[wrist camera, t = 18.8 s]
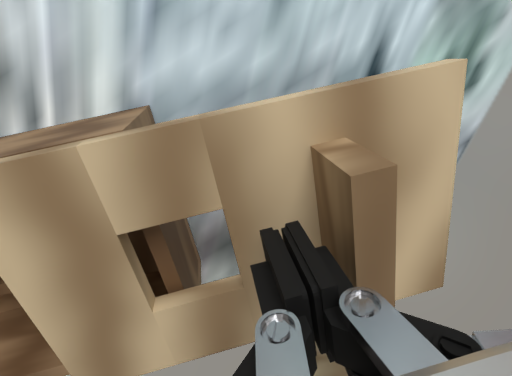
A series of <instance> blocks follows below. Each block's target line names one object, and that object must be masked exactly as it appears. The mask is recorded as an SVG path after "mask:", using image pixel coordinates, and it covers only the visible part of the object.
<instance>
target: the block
mask: <svg viewBox="0 0 512 376" xmlns="http://www.w3.org/2000/svg"><path fill="white" fill-rule="evenodd" d="M315 345H316V352H317V356H316V362H317V370H316V372H315V374H314V376H348V374H347V372H346V370H345V367H344V366H342V365H340V364H337V363H335V361H334V362H331V363H330V362H329V359H328V357H327V355H326V353H325V354H321V353H320V351H319V349H318V347H317V344H316V342H315Z"/></svg>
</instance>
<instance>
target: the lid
mask: <svg viewBox="0 0 512 376" xmlns="http://www.w3.org/2000/svg"><path fill="white" fill-rule="evenodd" d="M466 69H467V59H446V60H441V61H437V62H432V63H428V64H423V65H419V66H414V67H410V68H405V69H401V70H396V71H392V72H387V73H383V74H378V75H374V76H369V77H365V78H360V79H356V80H351V81H347V82H342V83H338V84H333V85H329V86H324V87H320V88H315V89H311V90H306V91H302V92H297V93H293V94H288V95H284V96H279V97H275V98H270V99H266V100H261V101H257V102H252V103H248V104H243V105H239V106H234V107H230V108H225V109H221V110H216V111H212V112H207V113H203V114H198V115H194V116H189V117H185V118H180V119H176V120H171V121H167V122H162V123H158V124H153V125H149V126H144V127H140V128H135V129H131V130H126V131H122V132H117V133H113V134H108V135H104V136H99V137H95V138H90V139H86V140H81V141H77V142H72V143H68V144H63V145H59V146H54V147H50V148H45V149H41V150H36V151H32V152H27V153H23V154H18V155H14V156H9V157H5V158H0V277H1V278H2V279H3V281H4V282H5V284H6V285H7V286H8V288H9V289H10V291H11V292H12V293H13V295H14V296H15V298H16V299H17V300H18V302H19V303H20V305H21V306H22V308H23V309H24V310H25V312H26V313H27V315H28V316H29V317H30V319H31V320H32V322H33V323H34V324H35V326H36V327H37V329H38V330H39V331H40V333H41V334H42V336H43V337H44V338H45V340H46V341H47V343H48V344H49V345H50V347H51V348H52V350H53V351H54V352H55V354H56V355H57V357H58V358H59V359H60V361H61V362H62V364H63V365H64V366H65V368H66V369H67V371H68V372H69V374H70V375H71V376H140V375H143V374H147V373H150V372H153V371H157V370H160V369H164V368H167V367H170V366H174V365H177V364H180V363H184V362H187V361H191V360H194V359H198V358H201V357H205V356H208V355H211V354H215V353H218V352H222V351H225V350H228V349H232V348H235V347H239V346H242V345H245V344H249V343H252V342H255V327H256V324H257V322H258V320H259V319H260V317H261V316H262V312H261V308H260V304H259V300H258V296H257V292H256V288H255V284H254V280H253V276H252V272H251V268H250V265H253V264H257V263H261V262H264V261H266V259H265V255H264V250H263V245H262V241H261V236H260V230H262V229H266V228H270V227H272V228H273V230H276V229H278V230H279V233H280V235H281V237H282V231H281V228H284V227H285V224H286V223H289V222H293V221H297V220H298V221H299V223H300V224H301V226H302V228H303V229H304V231H305V232H306V234H307V236H308V237H309V239H310V240H311V242H312V244H313V245H314V247H315V248H317V247H320V246H326V247H327V248H328V250H329V251H330V253H331V254H332V255H333V257H334V258H335V260H336V261H337V263H338V264H339V266H340V267H341V269H342V270H343V272H344V273H345V274H346V276H347V277H348V279H349V280H350V282H351V283H352V285H353V286H354V287H367V288H370V289H373V290H375V291H377V292H378V293H379V294H381V295H382V296H383V297H384V298H385V299H386V300H387V301H388V302H389V303H390V304H391V305H392V306H393V307H394V308H395V300H399V299H402V298H405V297H409V296H412V295H416V294H419V293H422V292H426V291H429V290H433V289H436V288H440V287H443V282H444V272H445V263H446V254H447V244H448V235H449V225H450V217H451V207H452V198H453V189H454V180H455V171H456V161H457V152H458V143H459V133H460V124H461V115H462V106H463V96H464V87H465V78H466ZM220 209H223V211H224V215H225V219H226V222H227V226H228V230H229V234H230V237H231V241H232V245H233V248H234V252H235V256H236V260H237V263H238V267H239V271H240V274H239V275H235V276H232V277H228V278H224V279H221V280H217V281H213V282H210V283H206V284H202V285H199V286H195V287H191V288H188V289H184V290H180V291H177V292H173V293H169V294H166V295H162V296H158V297H155V295H154V293H153V291H152V289H151V286H150V284H149V282H148V280H147V277H146V275H145V273H144V271H143V268H142V266H141V264H140V262H139V259H138V257H137V255H136V253H135V250H134V248H133V246H132V244H131V241H130V239H129V237H128V234H127V233H128V232H132V231H136V230H140V229H144V228H148V227H152V226H156V225H160V224H164V223H168V222H172V221H176V220H180V219H184V218H188V217H192V216H196V215H200V214H204V213H208V212H212V211H216V210H220ZM282 239H283V237H282Z"/></svg>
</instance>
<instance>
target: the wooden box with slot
mask: <svg viewBox="0 0 512 376" xmlns="http://www.w3.org/2000/svg"><path fill="white" fill-rule="evenodd" d="M153 124H155V122H154V119H153V115H152V112H151V109H150V106H149V105H148V106H144V107H139V108H134V109H130V110H125V111H120V112H116V113H111V114H107V115H102V116H97V117H93V118H88V119H83V120H79V121H74V122H70V123H65V124H60V125H56V126H51V127H46V128H42V129H37V130H33V131H28V132H23V133H19V134H14V135H9V136H5V137H0V158H5V157H9V156H14V155H18V154H23V153H27V152H32V151H36V150H41V149H45V148H50V147H54V146H59V145H63V144H68V143H72V142H77V141H81V140H86V139H90V138H95V137H99V136H104V135H108V134H113V133H117V132H122V131H126V130H131V129H135V128H140V127H144V126H149V125H153ZM127 234H128V237H129V239H130V241H131V244H132V246H133V248H134V250H135V253H136V255H137V257H138V259H139V262H140V264H141V266H142V268H143V271H144V273H145V275H146V277H147V280H148V282H149V284H150V286H151V289H152V291H153V293H154V295H155V297H158V296H162V295H166V294H169V293H173V292H177V291H180V290H184V289H188V288H191V287H195V286H199V285H201V260H200V257H199V254H198V251H197V248H196V245H195V242H194V239H193V236H192V233H191V230H190V227H189V224H188V221H187V218H184V219H180V220H176V221H172V222H168V223H164V224H160V225H156V226H152V227H148V228H144V229H140V230H136V231H132V232H128V233H127ZM66 375H69V372H68V371H67V369H66V368H65V366H64V365H63V364H62V362H61V361H60V359H59V358H58V357H57V355H56V354H55V352H54V351H53V350H52V348H51V347H50V345H49V344H48V343H47V341H46V340H45V338H44V337H43V336H42V334H41V333H40V331H39V330H38V329H37V327H36V326H35V324H34V323H33V322H32V320H31V319H30V317H29V316H28V315H27V313H26V312H25V310H24V309H23V308H22V306H21V305H20V303H19V302H18V300H17V299H16V298H15V296H14V295H13V293H12V292H11V291H10V289H9V288H8V286H7V285H6V284H5V282H4V281H3V279H2V278H1V277H0V376H66Z"/></svg>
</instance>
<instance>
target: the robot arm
mask: <svg viewBox="0 0 512 376" xmlns="http://www.w3.org/2000/svg"><path fill="white" fill-rule="evenodd" d="M281 231H282V237H283V239H282V237H281V235H280V233H279V230H278V229H276V230H273V228H272V227H270V228H266V229H262V230H260V236H261V241H262V245H263V250H264V255H265V259H266V261H264V262H261V263H257V264H253V265H250V268H251V272H252V276H253V280H254V284H255V288H256V292H257V296H258V300H259V304H260V308H261V312H262V316H261V317H260V319H259V320H258V322H257V324H256V327H255V344H254V346H253V347H252V349H251V350H250V351H249V353H248V354H247V356H246V357H245V359H244V360H243V361H242V363H241V364H240V366H239V367H238V369H237V370H236V372H235V373H234V374H233V376H314V374H315V372H316V370H317V362H316V356H317V352H316V345H315V342H316V344H317V347H318V349H319V351H320V353H321V354H325V353H326V355H327V357H328V359H329V362H330V363H331V362H334V361H335V363H337V364H340V365H342V366H344V367H345V370H346V372H347V374H348V376H512V329H506V330H491V331H476V332H473V334H472V335H471V336H468V335H467V334H465V333H462V332H460V331H458V330H455V329H452V328H448V327H445V326H442V325H439V324H436V323H433V322H430V321H427V320H423V319H420V318H417V317H414V316H411V315H408V314H405V313H402V312H399V311H397V310H396V309H395V308H394V307H393V306H392V305H391V304H390V303H389V302H388V301H387V300H386V299H385V298H384V297H383V296H382V295H381V294H379V293H378V292H377V291H375V290H373V289H370V288H367V287H354V286H353V285H352V283H351V282H350V280H349V279H348V277H347V276H346V274H345V273H344V272H343V270H342V269H341V267H340V266H339V264H338V263H337V261H336V260H335V258H334V257H333V255H332V254H331V253H330V251H329V250H328V248H327V247H326V246H320V247H317V248H315V247H314V245H313V244H312V242H311V240H310V239H309V237H308V236H307V234H306V232H305V231H304V229H303V228H302V226H301V224H300V223H299V221H298V220H297V221H293V222H289V223H286V224H285V227H284V228H281Z"/></svg>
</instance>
